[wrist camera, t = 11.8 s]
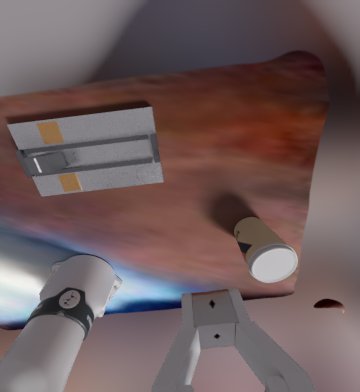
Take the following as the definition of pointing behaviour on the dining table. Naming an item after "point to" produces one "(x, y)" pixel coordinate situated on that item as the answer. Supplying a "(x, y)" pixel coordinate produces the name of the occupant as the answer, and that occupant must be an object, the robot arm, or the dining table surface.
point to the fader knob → (45, 163)
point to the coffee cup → (264, 251)
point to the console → (93, 150)
